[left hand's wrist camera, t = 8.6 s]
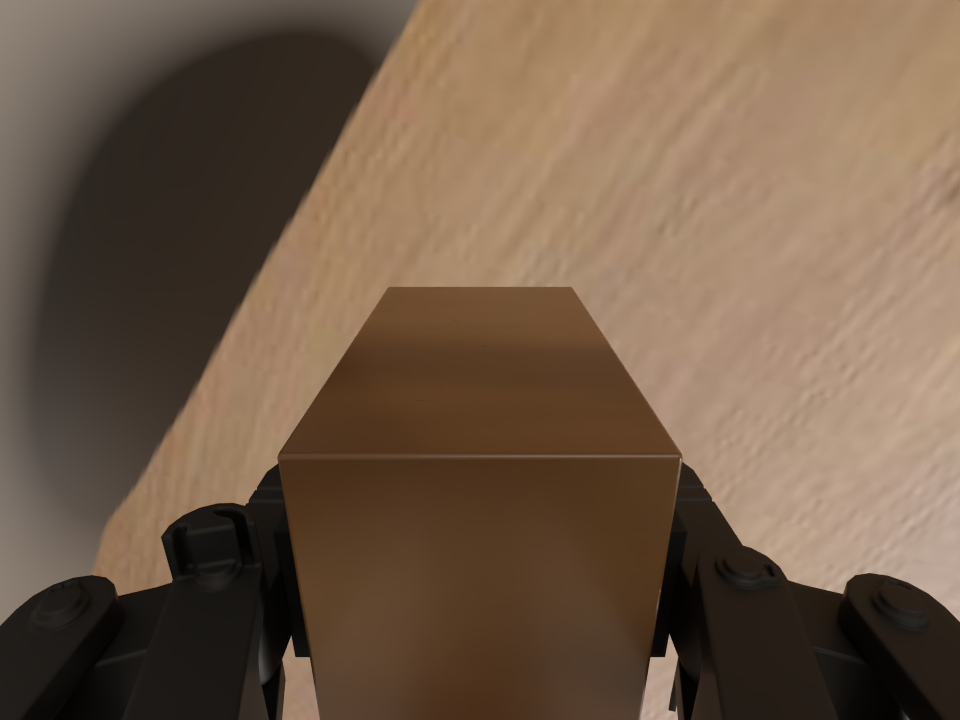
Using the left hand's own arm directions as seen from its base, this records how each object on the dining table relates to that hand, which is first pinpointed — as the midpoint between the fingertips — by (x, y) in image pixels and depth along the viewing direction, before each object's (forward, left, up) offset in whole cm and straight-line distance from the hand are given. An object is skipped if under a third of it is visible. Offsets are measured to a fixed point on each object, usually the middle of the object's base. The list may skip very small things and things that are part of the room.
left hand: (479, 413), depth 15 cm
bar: (+7, +7, -1) cm, 10 cm away
